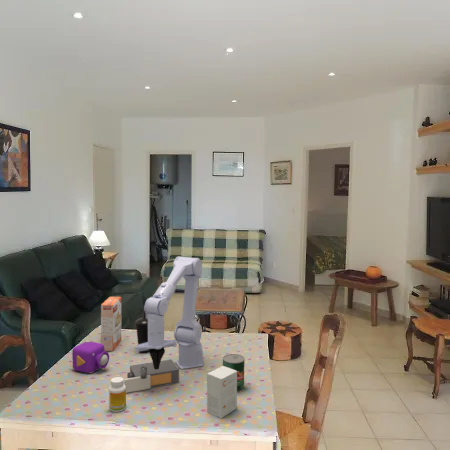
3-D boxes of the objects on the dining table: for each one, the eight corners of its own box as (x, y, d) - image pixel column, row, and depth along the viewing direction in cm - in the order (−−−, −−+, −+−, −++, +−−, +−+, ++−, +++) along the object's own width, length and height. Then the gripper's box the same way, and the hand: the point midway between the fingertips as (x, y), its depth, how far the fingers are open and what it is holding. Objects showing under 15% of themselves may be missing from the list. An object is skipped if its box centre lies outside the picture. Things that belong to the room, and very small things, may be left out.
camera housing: (171, 371, 170) (171, 359, 170) (179, 382, 161) (179, 369, 160) (125, 379, 163) (125, 366, 163) (131, 391, 154) (131, 377, 153)
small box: (222, 402, 147) (222, 365, 146) (237, 408, 143) (237, 370, 142) (206, 411, 141) (206, 373, 140) (221, 418, 137) (221, 379, 135)
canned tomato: (240, 394, 153) (240, 364, 152) (219, 390, 155) (219, 360, 154) (246, 384, 160) (247, 355, 159) (226, 381, 163) (227, 352, 162)
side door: (149, 387, 156) (149, 365, 155) (151, 390, 154) (151, 367, 153) (124, 391, 153) (124, 369, 152) (125, 394, 151) (125, 372, 150)
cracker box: (114, 351, 189) (113, 304, 187) (100, 351, 189) (99, 304, 187) (122, 340, 203) (122, 296, 201) (109, 339, 203) (108, 296, 201)
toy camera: (101, 376, 165) (101, 351, 164) (69, 373, 168) (68, 347, 167) (114, 365, 176) (114, 341, 175) (83, 361, 178) (83, 338, 177)
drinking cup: (156, 350, 191) (156, 305, 189) (144, 356, 185) (144, 310, 183) (144, 346, 195) (143, 303, 193) (131, 352, 189) (131, 307, 187)
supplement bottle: (128, 409, 142) (128, 380, 141) (112, 414, 139) (111, 384, 138) (122, 402, 146) (122, 374, 145) (106, 406, 143) (106, 378, 142)
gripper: (138, 337, 147) (138, 376, 149) (179, 332, 153) (179, 369, 155) (133, 331, 154) (134, 368, 155) (173, 326, 160) (173, 361, 161)
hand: (156, 368), depth 155 cm, fingers closed
